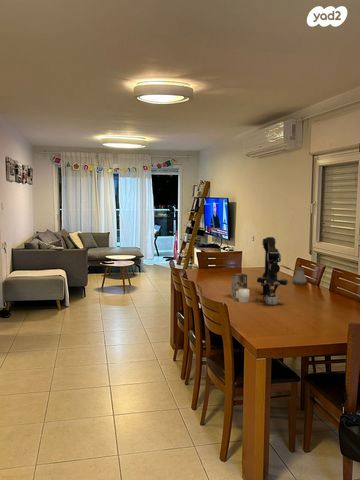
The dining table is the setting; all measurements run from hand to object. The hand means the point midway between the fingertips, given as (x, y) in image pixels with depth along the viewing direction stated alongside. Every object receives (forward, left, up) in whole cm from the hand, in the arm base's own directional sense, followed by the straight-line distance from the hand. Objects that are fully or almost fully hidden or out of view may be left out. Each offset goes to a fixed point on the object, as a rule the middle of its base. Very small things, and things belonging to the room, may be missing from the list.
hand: (271, 294), depth 265 cm
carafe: (0, -1, -7) cm, 7 cm away
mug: (+2, -18, -7) cm, 19 cm away
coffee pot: (-72, -1, -7) cm, 72 cm away
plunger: (0, 0, -5) cm, 5 cm away
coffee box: (-6, -24, -7) cm, 26 cm away
